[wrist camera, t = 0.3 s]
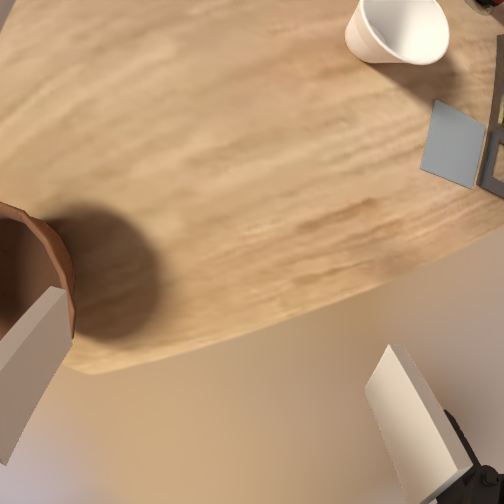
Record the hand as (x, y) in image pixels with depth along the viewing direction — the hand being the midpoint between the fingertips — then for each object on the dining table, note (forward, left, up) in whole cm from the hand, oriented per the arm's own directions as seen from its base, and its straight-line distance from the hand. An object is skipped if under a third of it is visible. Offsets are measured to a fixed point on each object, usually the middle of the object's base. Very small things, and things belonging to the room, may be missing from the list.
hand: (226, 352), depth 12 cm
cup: (-23, +12, -28) cm, 38 cm away
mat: (-14, +28, -28) cm, 42 cm away
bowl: (+13, -26, -28) cm, 40 cm away
